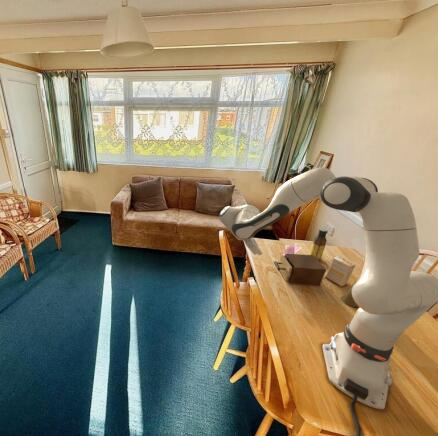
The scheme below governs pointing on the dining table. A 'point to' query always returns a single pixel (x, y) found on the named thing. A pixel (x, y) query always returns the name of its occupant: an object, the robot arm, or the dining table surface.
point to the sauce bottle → (319, 244)
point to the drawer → (284, 267)
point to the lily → (291, 249)
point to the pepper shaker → (350, 297)
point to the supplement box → (340, 270)
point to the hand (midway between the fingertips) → (258, 248)
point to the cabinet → (306, 269)
